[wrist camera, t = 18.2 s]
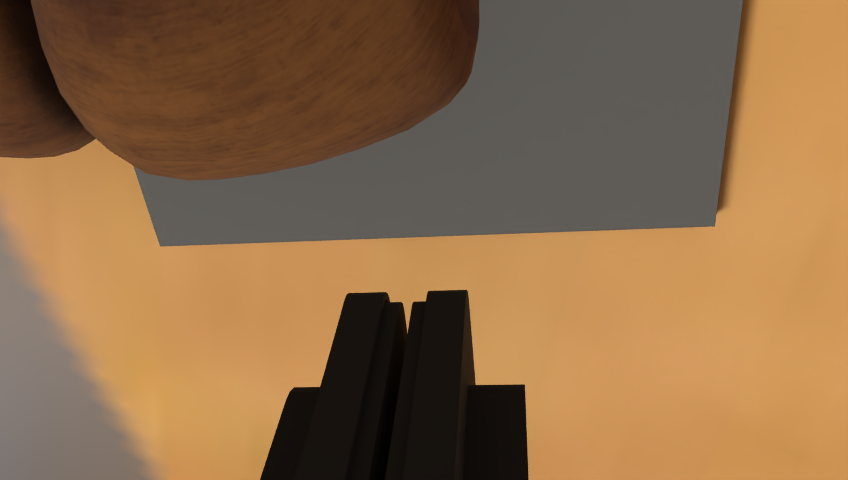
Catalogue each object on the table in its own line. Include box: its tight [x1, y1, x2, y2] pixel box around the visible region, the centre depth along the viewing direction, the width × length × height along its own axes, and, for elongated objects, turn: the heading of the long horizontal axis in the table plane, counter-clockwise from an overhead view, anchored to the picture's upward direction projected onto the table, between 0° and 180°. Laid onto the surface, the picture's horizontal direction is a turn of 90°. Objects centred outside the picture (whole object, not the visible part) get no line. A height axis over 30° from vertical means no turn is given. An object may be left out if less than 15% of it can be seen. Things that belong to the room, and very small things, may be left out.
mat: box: [134, 0, 743, 246], centre depth 19 cm, size 15×7×1 cm, turn 96°
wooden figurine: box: [0, 0, 479, 180], centre depth 15 cm, size 7×6×15 cm
